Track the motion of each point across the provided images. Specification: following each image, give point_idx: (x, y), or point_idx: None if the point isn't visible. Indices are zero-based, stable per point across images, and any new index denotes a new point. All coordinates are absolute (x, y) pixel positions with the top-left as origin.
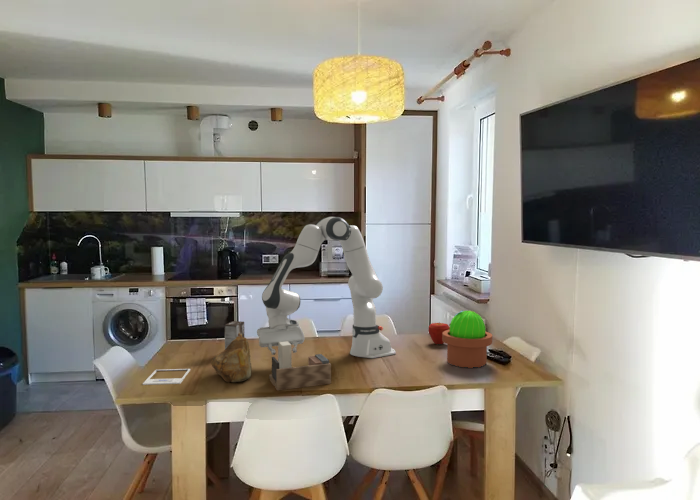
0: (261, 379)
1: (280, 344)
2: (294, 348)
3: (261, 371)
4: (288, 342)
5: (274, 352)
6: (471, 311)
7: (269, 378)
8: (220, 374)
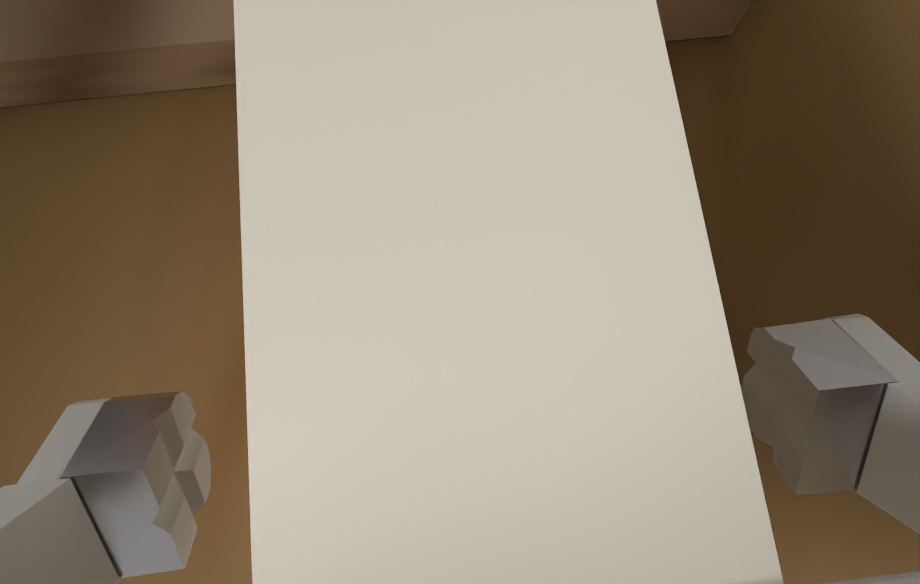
0: (842, 57)
1: (687, 204)
2: (106, 445)
3: None
4: (267, 352)
5: (795, 323)
6: None
7: (735, 16)
8: None
